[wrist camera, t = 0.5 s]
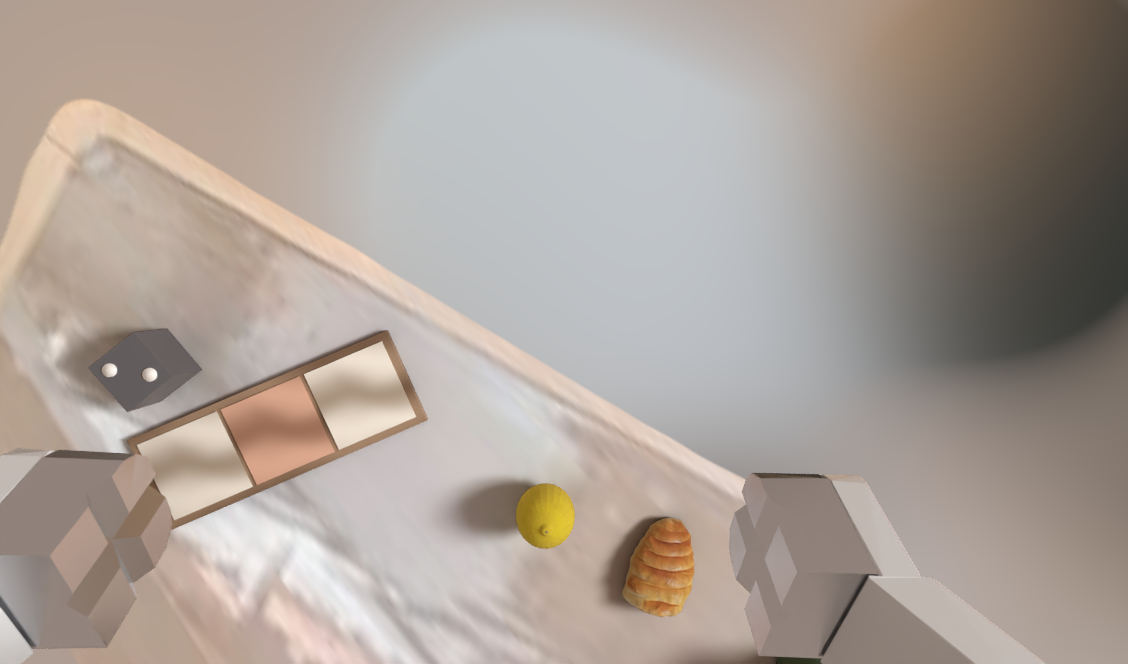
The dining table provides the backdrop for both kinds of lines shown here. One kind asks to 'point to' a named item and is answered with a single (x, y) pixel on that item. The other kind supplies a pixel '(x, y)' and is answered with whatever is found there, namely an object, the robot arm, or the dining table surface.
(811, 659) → the character mug
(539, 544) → the lemon
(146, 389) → the die
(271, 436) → the board
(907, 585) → the robot arm
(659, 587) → the pastry
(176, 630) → the dining table surface
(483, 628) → the dining table surface
